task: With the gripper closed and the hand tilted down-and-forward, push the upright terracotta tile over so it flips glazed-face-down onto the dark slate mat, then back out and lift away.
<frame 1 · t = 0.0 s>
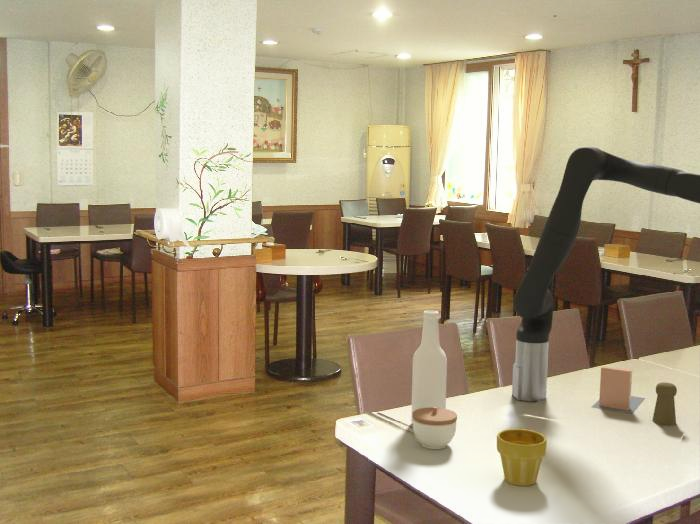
tile: (614, 406, 219), resting on mat
pepper mill: (664, 424, 207), on the table
alcohol: (428, 425, 203), on the table
mat: (618, 404, 224), on the table
plant pot: (519, 481, 167), on the table
lidded jar: (433, 445, 188), on the table
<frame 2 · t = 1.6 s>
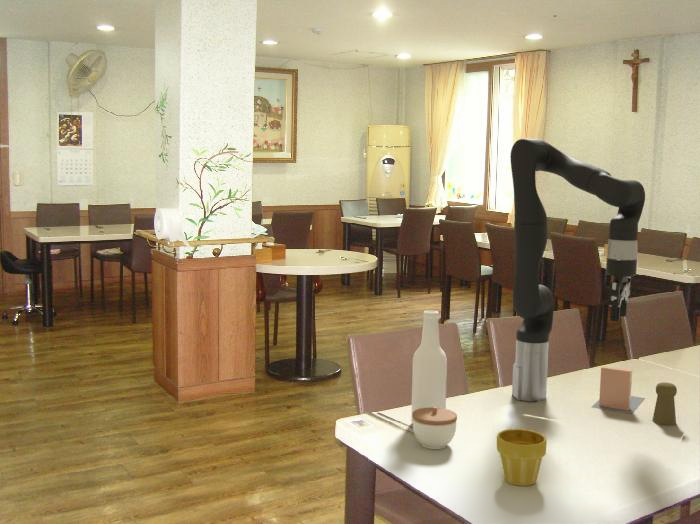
hand: (618, 318, 205), 28 cm above the table, tool pointing down, fingers open, 7 cm apart
nothing on the table moved.
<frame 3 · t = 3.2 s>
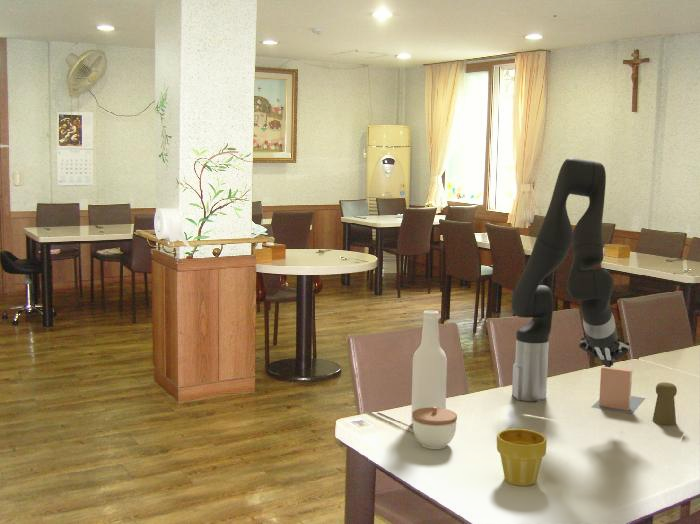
hand: (608, 364, 208), 15 cm above the table, tool tilted 45°, fingers closed
nothing on the table moved.
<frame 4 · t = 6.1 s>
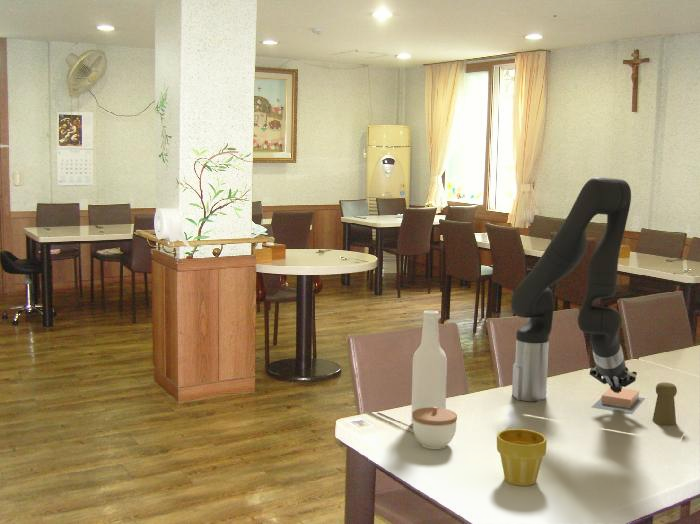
hand: (617, 390, 220), 5 cm above the table, tool tilted 45°, fingers closed
tile: (615, 401, 220), point 2 cm above the table, tilted 90°, touching mat
everything else where it was.
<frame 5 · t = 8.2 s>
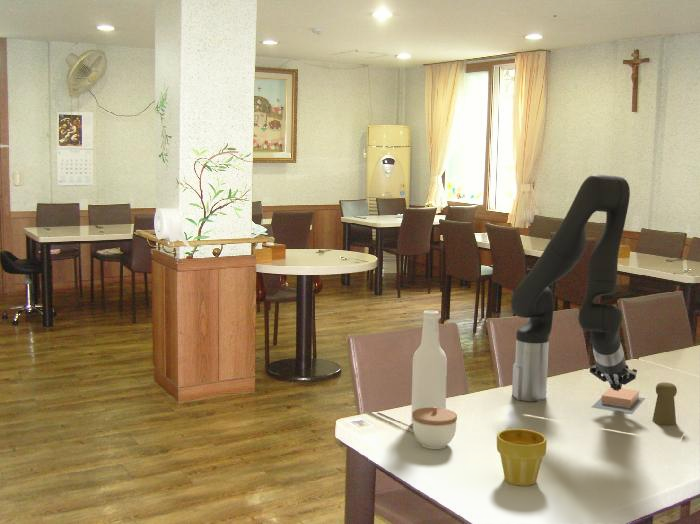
hand: (616, 387, 220), 6 cm above the table, tool tilted 45°, fingers closed
nothing on the table moved.
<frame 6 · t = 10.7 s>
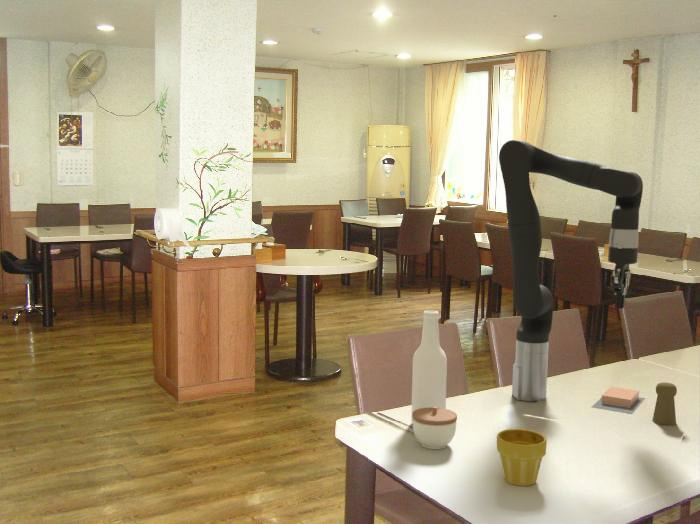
hand: (619, 308, 214), 29 cm above the table, tool pointing down, fingers closed
nothing on the table moved.
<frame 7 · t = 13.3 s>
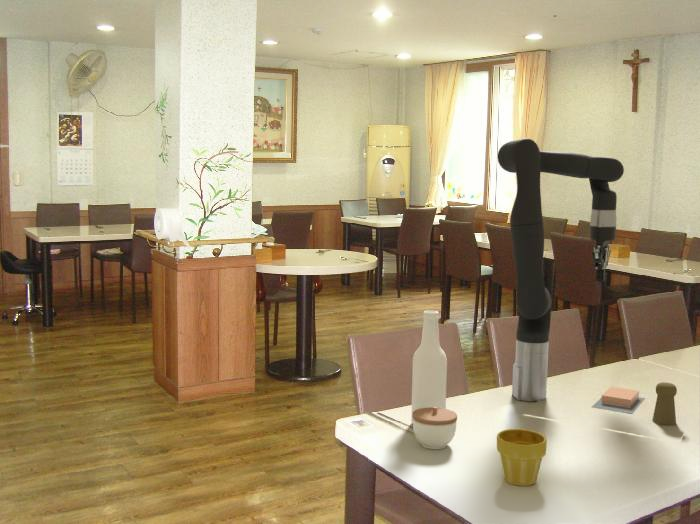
hand: (600, 281, 239), 33 cm above the table, tool pointing down, fingers closed
nothing on the table moved.
at the end: tile tilted 90°; tile 3.8 cm from the mat (horizontally); tile point 1.7 cm above the table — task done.
